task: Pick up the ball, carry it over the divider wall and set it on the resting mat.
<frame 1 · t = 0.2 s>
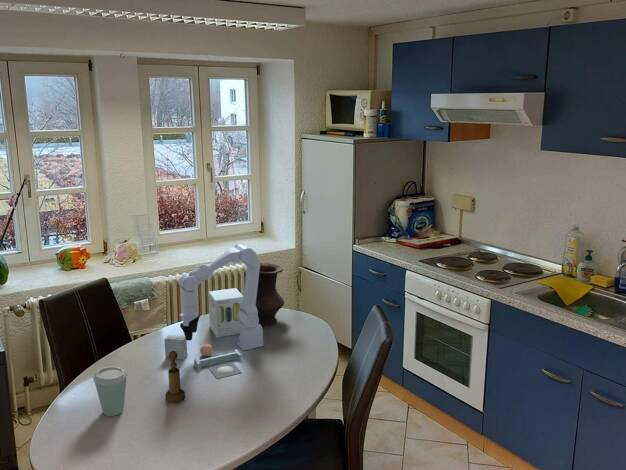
hand: (191, 336, 233), 10 cm above the table, fingers open, 7 cm apart
disposable coffee cup: (113, 412, 196), on the table
divider wall: (217, 362, 232), on the table
brown wooden tall figure: (175, 399, 204), on the table
supplement box: (227, 330, 264), on the table
medicine box: (176, 357, 237), on the table
ball: (206, 355, 238), on the table
jug: (263, 323, 272), on the table
resting mat: (225, 370, 225), on the table
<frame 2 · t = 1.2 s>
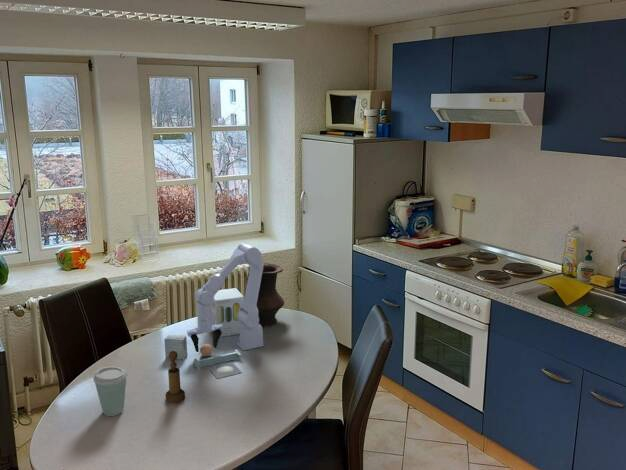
hand: (206, 349, 237), 3 cm above the table, fingers open, 7 cm apart
nothing on the table moved.
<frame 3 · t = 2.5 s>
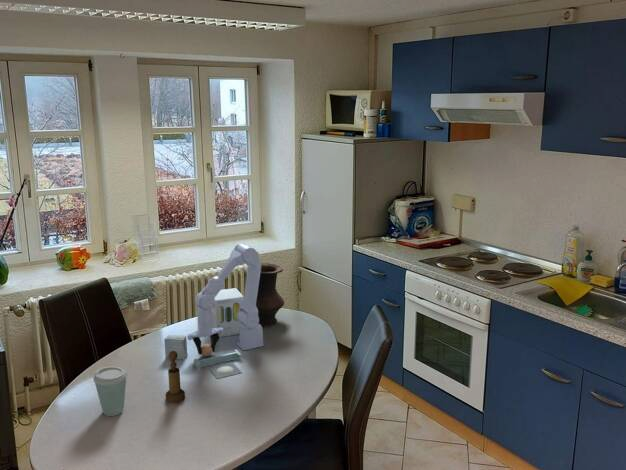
hand: (206, 352, 237), 1 cm above the table, fingers closed on ball, 5 cm apart
ball: (206, 355, 238), on the table, touching gripper
everything else where it was.
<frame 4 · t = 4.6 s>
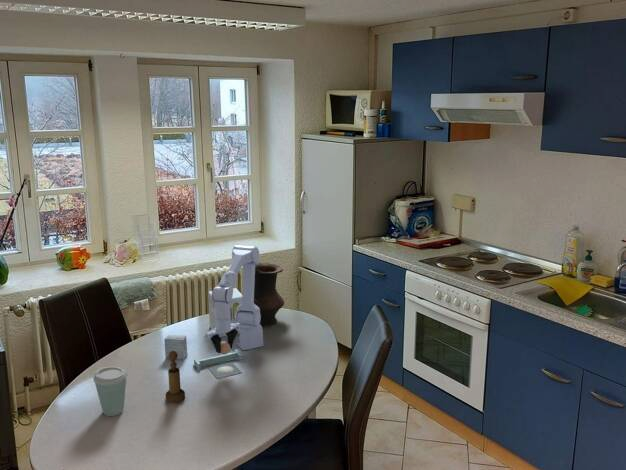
hand: (224, 350, 223), 8 cm above the table, fingers closed on ball, 5 cm apart
ball: (223, 353, 224), point 7 cm above the table, touching gripper
everything else where it was.
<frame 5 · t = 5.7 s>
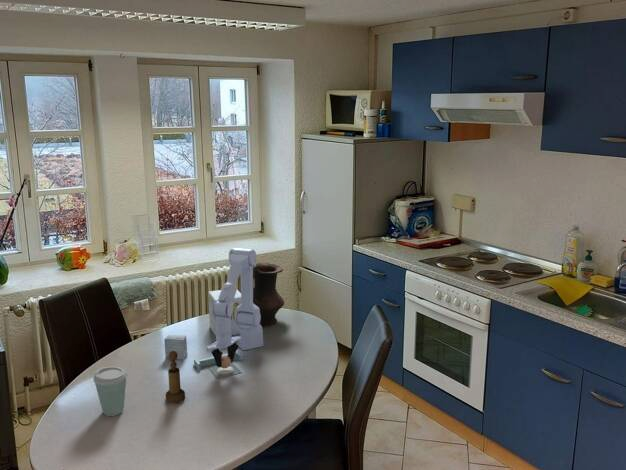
hand: (224, 364, 225), 3 cm above the table, fingers closed on ball, 5 cm apart
ball: (224, 367, 225), point 1 cm above the table, touching gripper
everything else where it was.
when the fingers open (2 cm above the table, at t = 6.7 s): ball stays where it is, resting on resting mat.
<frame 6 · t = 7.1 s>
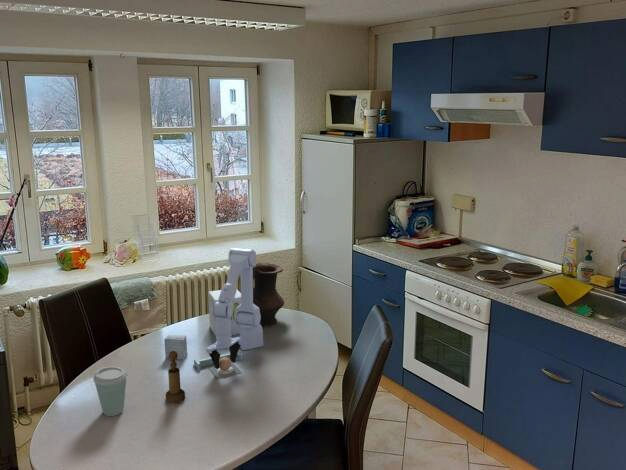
hand: (224, 364, 225), 2 cm above the table, fingers open, 7 cm apart
ball: (224, 369, 225), resting on resting mat
everything else where it was.
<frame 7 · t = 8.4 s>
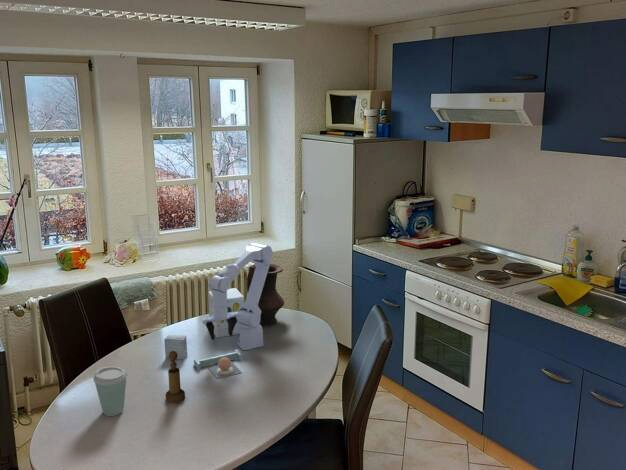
hand: (221, 337, 233), 9 cm above the table, fingers open, 7 cm apart
nothing on the table moved.
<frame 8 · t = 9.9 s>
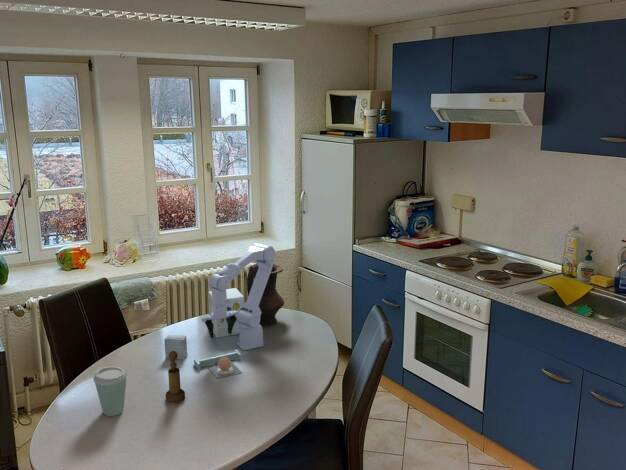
hand: (220, 335, 235), 9 cm above the table, fingers open, 7 cm apart
nothing on the table moved.
at the end: ball 0.2 cm from the resting mat (horizontally); ball resting on resting mat; the gripper is holding nothing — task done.
